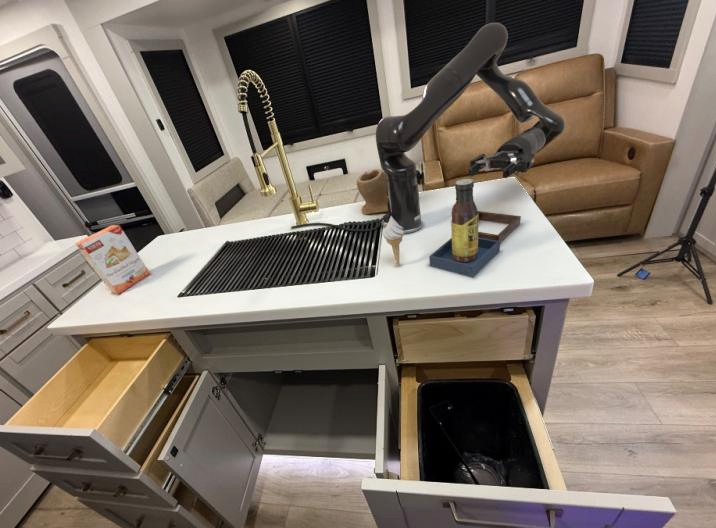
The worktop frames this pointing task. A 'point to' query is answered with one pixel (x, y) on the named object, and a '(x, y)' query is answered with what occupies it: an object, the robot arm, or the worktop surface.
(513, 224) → the walnut frame
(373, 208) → the stone cup
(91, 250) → the cracker box
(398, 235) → the ice cream cone
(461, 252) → the sauce bottle
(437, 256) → the slate tray
